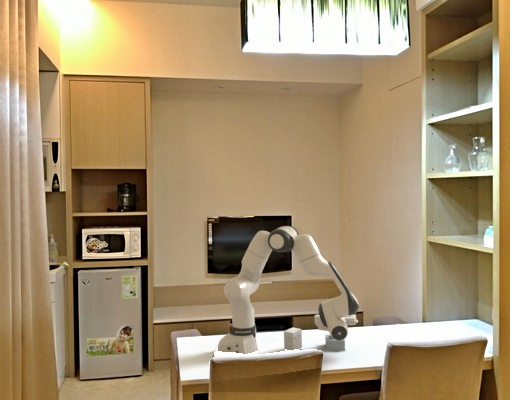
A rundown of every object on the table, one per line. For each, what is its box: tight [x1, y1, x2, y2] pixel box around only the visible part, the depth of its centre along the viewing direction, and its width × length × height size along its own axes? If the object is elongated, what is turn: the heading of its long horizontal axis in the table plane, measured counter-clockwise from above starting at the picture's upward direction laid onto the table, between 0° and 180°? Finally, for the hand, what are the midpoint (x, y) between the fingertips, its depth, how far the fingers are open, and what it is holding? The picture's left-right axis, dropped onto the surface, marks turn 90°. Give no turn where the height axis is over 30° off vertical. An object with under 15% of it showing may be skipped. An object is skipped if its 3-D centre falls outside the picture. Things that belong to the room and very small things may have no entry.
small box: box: [283, 327, 303, 350], centre depth 230 cm, size 8×6×10 cm
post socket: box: [324, 334, 346, 351], centre depth 233 cm, size 9×9×5 cm
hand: (334, 315), depth 234 cm, fingers closed on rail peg, 4 cm apart
